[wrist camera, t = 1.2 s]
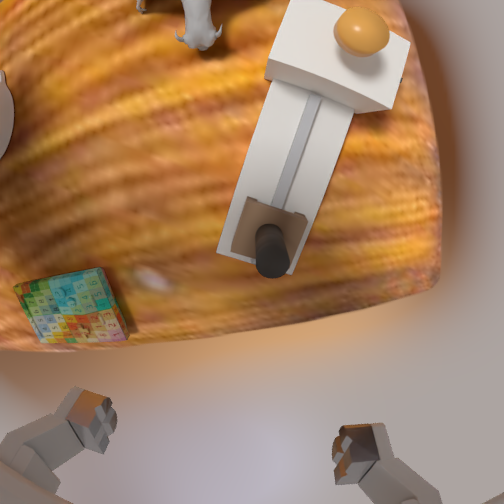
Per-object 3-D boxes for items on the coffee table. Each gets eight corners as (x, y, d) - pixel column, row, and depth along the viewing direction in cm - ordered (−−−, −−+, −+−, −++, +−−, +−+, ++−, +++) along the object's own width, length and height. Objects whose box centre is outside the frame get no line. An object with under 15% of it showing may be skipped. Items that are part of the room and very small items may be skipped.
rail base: (210, 244, 39) (197, 280, 29) (284, 24, 28) (294, -10, 19) (302, 272, 40) (316, 313, 31) (379, 63, 29) (417, 46, 20)
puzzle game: (125, 343, 40) (39, 346, 41) (134, 325, 44) (50, 331, 46) (93, 273, 36) (9, 289, 37) (107, 259, 40) (24, 277, 41)
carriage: (231, 242, 36) (225, 281, 27) (247, 196, 34) (244, 219, 25) (286, 259, 37) (297, 301, 28) (304, 214, 35) (322, 244, 26)
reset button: (327, 44, 18) (333, 37, 16) (340, 8, 17) (347, -1, 15) (373, 65, 19) (383, 60, 17) (384, 28, 17) (394, 21, 15)
